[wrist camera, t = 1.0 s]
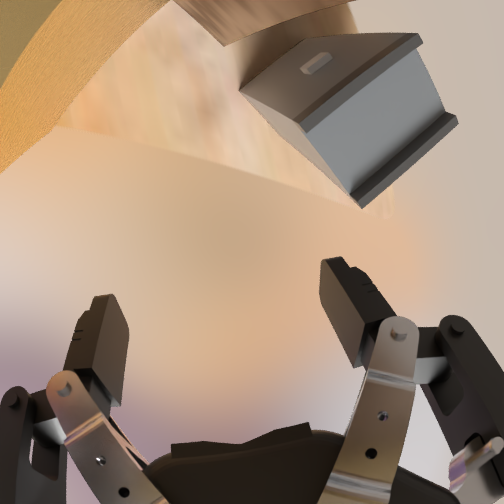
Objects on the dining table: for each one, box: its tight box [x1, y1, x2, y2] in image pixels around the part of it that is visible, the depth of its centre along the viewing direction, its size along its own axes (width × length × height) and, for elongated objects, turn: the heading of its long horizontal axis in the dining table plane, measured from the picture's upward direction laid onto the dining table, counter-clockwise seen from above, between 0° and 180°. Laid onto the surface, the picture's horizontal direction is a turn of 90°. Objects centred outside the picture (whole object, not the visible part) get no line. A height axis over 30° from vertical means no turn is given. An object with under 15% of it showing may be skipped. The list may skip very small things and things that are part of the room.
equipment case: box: [239, 33, 458, 209], centre depth 26 cm, size 9×11×21 cm
